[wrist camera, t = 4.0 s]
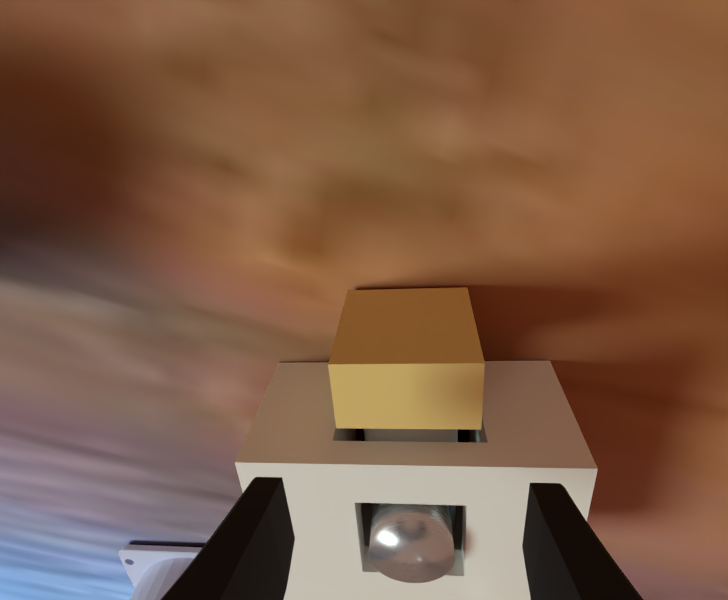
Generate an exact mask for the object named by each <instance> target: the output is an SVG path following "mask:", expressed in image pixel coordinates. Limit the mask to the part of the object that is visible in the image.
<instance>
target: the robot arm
mask: <svg viewBox="0 0 728 600" xmlns="http://www.w3.org/2000/svg"><path fill="white" fill-rule="evenodd" d="M294 541H295V536H294V531H293V526H292V522H291V517H290V512H289V508H288V503H287V498H286V493H285V489H284V484H283V479H282V477H255V478H254V479H253V480H252V481H251V482H250V484H249V485H248V487H247V488H246V489H245V491H244V492H243V494H242V495H241V497H240V498H239V499H238V501H237V502H236V504H235V505H234V506H233V508H232V509H231V511H230V512H229V513H228V515H227V516H226V517H225V519H224V520H223V521H222V523H221V524H220V526H219V527H218V528H217V530H216V531H215V532H214V534H213V535H212V536H211V538H210V539H209V540H208V541H207V543H206V544H205V545H204V547H179V546H153V545H124V546H122V548H121V549H120V551H119V557H120V559H121V561H122V563H123V565H124V567H125V569H126V571H127V573H128V575H129V577H130V580H131V582H132V584H133V586H134V588H135V590H134V592H133V594H132V596H131V598H130V600H283V599H284V596H285V592H286V588H287V583H288V577H289V572H290V566H291V560H292V554H293V547H294ZM522 549H523V555H524V561H525V568H526V574H527V580H528V585H529V591H530V597H531V600H643V599H642V597H641V596H640V595H639V593H638V592H637V591H636V589H635V588H634V587H633V585H632V584H631V583H630V581H629V580H628V579H627V577H626V576H625V575H624V573H623V572H622V571H621V569H620V568H619V567H618V565H617V564H616V563H615V561H614V560H613V559H612V557H611V556H610V554H609V553H608V552H607V550H606V549H605V547H604V546H603V544H602V543H601V542H600V540H599V539H598V537H597V536H596V534H595V533H594V532H593V530H592V529H591V527H590V526H589V524H588V523H587V521H586V520H585V518H584V517H583V515H582V514H581V512H580V511H579V509H578V507H577V506H576V504H575V503H574V501H573V500H572V498H571V496H570V495H569V493H568V492H567V490H566V488H565V487H564V486H563V485H562V484H560V483H530V486H529V494H528V502H527V511H526V519H525V527H524V535H523V543H522Z"/></svg>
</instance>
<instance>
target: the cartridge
mask: <svg viewBox="0 0 728 600" xmlns="http://www.w3.org/2000/svg"><path fill="white" fill-rule="evenodd" d="M328 369H329V377H330V384H331V392H332V400H333V407H334V415H335V423H336V428H357V429H364V436H365V441H391V442H458V429H471V430H481V426H482V407H483V388H484V369H485V362H484V358H483V353H482V349H481V345H480V340H479V336H478V332H477V327H476V323H475V319H474V314H473V310H472V306H471V301H470V297H469V293H468V288H467V287H460V288H421V289H381V290H348V293H347V297H346V300H345V304H344V307H343V311H342V315H341V318H340V322H339V326H338V329H337V333H336V337H335V340H334V344H333V348H332V351H331V355H330V358H329V362H328ZM450 506H451V519H452V531H453V536H454V533H455V528H456V505H450ZM371 509H372V511H373V503H371Z"/></svg>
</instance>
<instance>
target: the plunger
mask: <svg viewBox="0 0 728 600" xmlns="http://www.w3.org/2000/svg"><path fill="white" fill-rule="evenodd" d="M369 558H370V561H371V563H372V564H373V566H374V567H375V568H376V569H377V570H378V571H379V572H380V573H382V574H383V575H385V576H387V577H389V578H391V579H394V580H397V581H401V582H406V583H425V582H430V581H434V580H436V579H439V578H441V577H443V576H444V575H446V574H447V573H448V572H449V571H450V570H451V568H452V567H453V565H454V561H455V555H454V543H453V531H452V519H451V506H450V505H427V504H390V503H373V511H372V522H371V534H370V545H369Z"/></svg>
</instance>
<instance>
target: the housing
mask: <svg viewBox="0 0 728 600" xmlns="http://www.w3.org/2000/svg"><path fill="white" fill-rule="evenodd" d="M484 362H485V369H484V388H483V407H482V426H481V430H471V429H470V431H469V442H391V441H357V434H356V428H336V423H335V415H334V407H333V400H332V392H331V384H330V377H329V369H328V362H295V363H278V365H277V367H276V369H275V371H274V374H273V376H272V378H271V381H270V383H269V385H268V387H267V390H266V392H265V394H264V397H263V399H262V401H261V403H260V406H259V408H258V410H257V413H256V415H255V417H254V420H253V422H252V424H251V426H250V429H249V431H248V433H247V436H246V438H245V440H244V442H243V445H242V447H241V449H240V452H239V454H238V456H237V459H236V461H235V465H236V469H237V472H238V476H239V480H240V484H241V487H242V491H243V492H244V491H245V489H246V488H247V487H248V485H249V484H250V482H251V481H252V480H253V479H254V478H255V477H282V479H283V484H284V489H285V493H286V498H287V503H288V508H289V512H290V517H291V522H292V526H293V531H294V536H295V541H294V547H293V554H292V560H291V566H290V572H289V577H288V583H287V588H286V592H285V596H284V599H283V600H531V597H530V591H529V585H528V580H527V574H526V568H525V561H524V555H523V549H522V543H523V535H524V527H525V519H526V511H527V502H528V494H529V486H530V483H560V484H562V485H563V486H564V487H565V488H566V490H567V492H568V493H569V495H570V496H571V498H572V500H573V501H574V503H575V504H576V506H577V507H578V509H579V511H580V512H581V514H582V515H583V517H584V518H585V520H586V521H587V518H588V513H589V508H590V504H591V499H592V494H593V489H594V485H595V480H596V475H597V470H598V468H597V466H596V464H595V461H594V459H593V457H592V455H591V452H590V450H589V448H588V446H587V443H586V441H585V439H584V437H583V434H582V432H581V430H580V428H579V425H578V423H577V421H576V419H575V416H574V414H573V412H572V410H571V407H570V405H569V403H568V401H567V398H566V396H565V394H564V392H563V389H562V387H561V385H560V383H559V380H558V378H557V376H556V374H555V371H554V369H553V367H552V365H551V362H550V361H484ZM371 503H390V504H427V505H456V528H455V533H454V536H453V543H454V555H455V561H454V565H453V567H452V568H451V570H450V571H449V572H448V573H447V574H446V575H444V576H443V577H441V578H439V579H436V580H434V581H430V582H425V583H406V582H401V581H397V580H394V579H391V578H389V577H387V576H385V575H383V574H382V573H380V572H379V571H378V570H377V569H376V568H375V567H374V566H373V564H372V563H371V561H370V558H369V545H370V534H371V522H372V509H371Z"/></svg>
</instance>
